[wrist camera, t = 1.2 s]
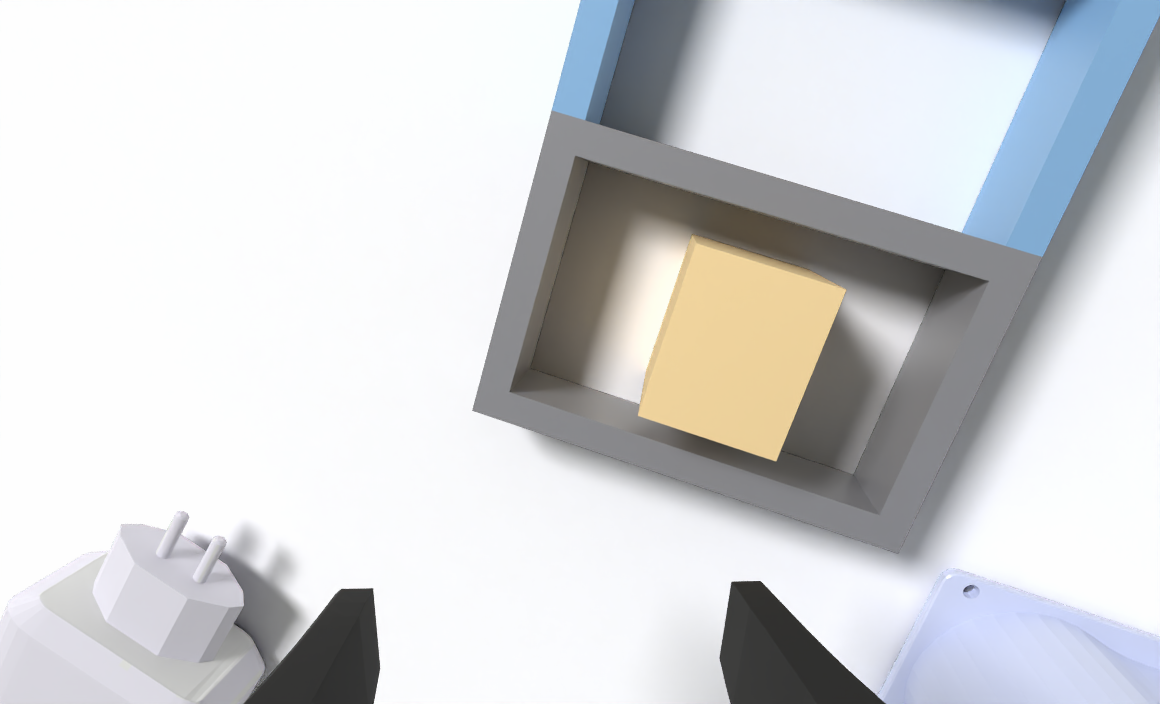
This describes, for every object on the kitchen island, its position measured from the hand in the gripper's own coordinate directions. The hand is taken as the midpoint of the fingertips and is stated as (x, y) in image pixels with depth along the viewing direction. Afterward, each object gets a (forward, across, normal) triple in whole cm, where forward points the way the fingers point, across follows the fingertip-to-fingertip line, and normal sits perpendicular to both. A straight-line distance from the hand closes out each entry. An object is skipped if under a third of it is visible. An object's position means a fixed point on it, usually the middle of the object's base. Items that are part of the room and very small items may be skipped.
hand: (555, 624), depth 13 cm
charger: (+14, +16, +13) cm, 25 cm away
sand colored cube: (+10, -6, -3) cm, 12 cm away
